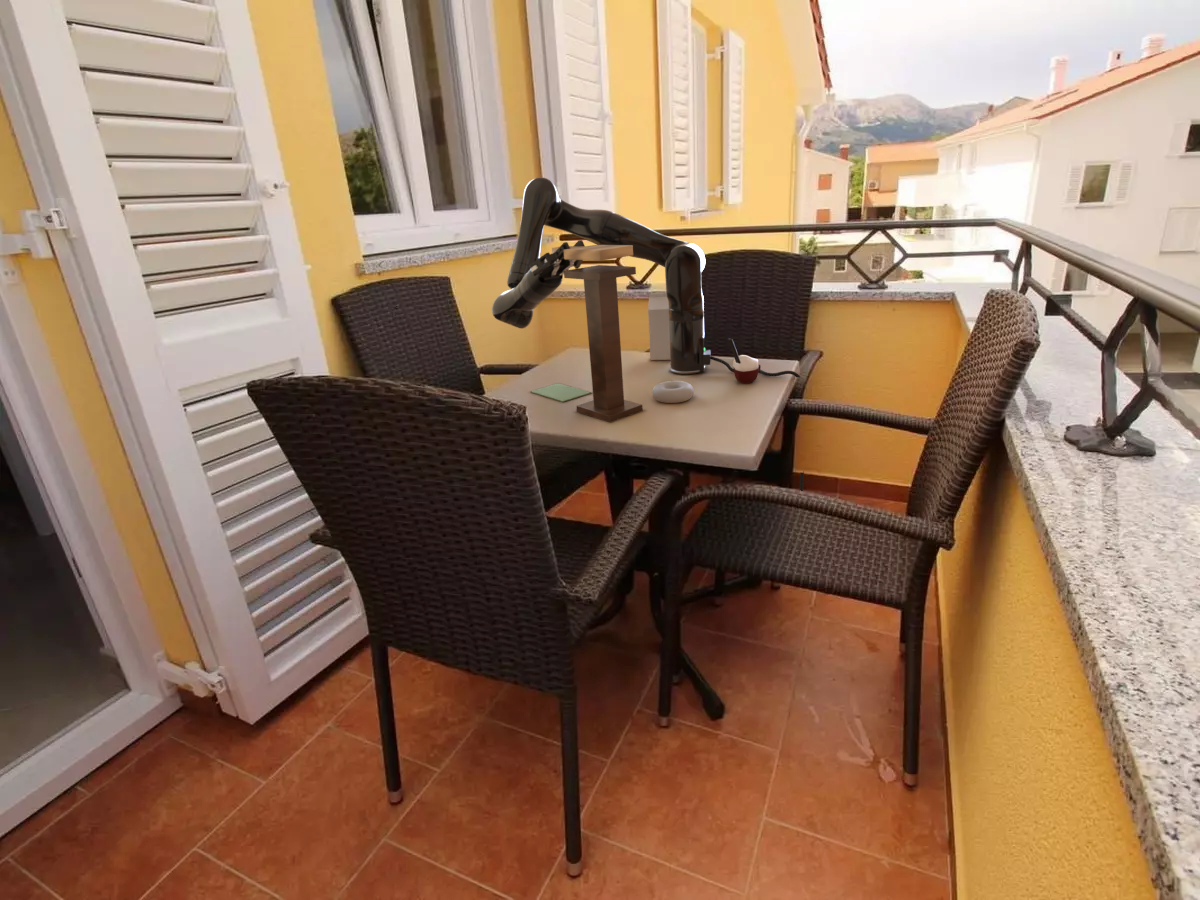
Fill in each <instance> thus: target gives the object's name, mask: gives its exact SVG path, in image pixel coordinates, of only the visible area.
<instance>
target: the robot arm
mask: <svg viewBox="0 0 1200 900" xmlns="http://www.w3.org/2000/svg"><path fill="white" fill-rule="evenodd" d="M544 227H549V228H553V229H556V230H560V231H563V232H567V233H569V234H572V235H574V236H576V237H578V238H581V239H580V240H577V242H575V243H574V245H573V246H586V244H585V243H584V241H583V240H585V241H588V242H590V243H592V244H593V245H633V255H632V256H630V257H631V258H636V259H642V260H646V261H650V262H652V263H655V264H657V265H659V266H661V267H663V268H664V275H665V293H666V294H667V299H668V303H669V333H670V360H669V361H670V362H669V365H670V367H669V369H670V370H669V371H670V372H672V373H673V374H678V375H693V374H695V375H696V374H700V373H705V369H706V366H711V362H712V361H714V362H718V363H721V364H722V365H724V366H726V367H727V369H728V370H729V371H730V372H732V373H734V367H732V366H731V364H730V363H729V362H727V361H726V360H724V359H721V358H718V357H715V356H713V355H711V353H712V350H711V349H706V346H705V313H704V312H705V310H704V308H705V307H704V306H705V305H704V303H705V301H704V300H705V299H704V295H703V289H702V272H703V270H704V269H705V266H706V257H705V254H704V251H703V250H702V249H701V247H699V246H698V245H697V244H695V243H693V242H692V243H691V242H687V241H684V240H680V239H677V238H673V237H670V236H667V235H664V234H662V233H659V232H657V231H655V230H653V229H651V228H649V227H647V226H645V225H643V224H641V223H639V222H638V221H634V220H633V219H631V218H628V217H626V216H624V215H622V214H619V213H616V212H614V211H612V210H608V209H599V208H598V209H587V208H580V207H578V206H575V205H573V204H571V203H569V202H567V201H564V200H563V199H561V198H560V195H559V193H558V189H557V187H556V185H555V184H554V183H553V181H552V180H551V179H549V178H546V177H543V176H540V177H536V178H533V179H532V180H530V181H529V182H528V183H527V184H526V186H525V188H524V191H523V198H522V209H521V219H520V224H519V229H518V236H517V241H516V245H515V250H514V253H513V258H512V260H511V263H510V268H509V271H508V274H507V278H506V285H507V287H508V288H509V289H508V290H505V291H503V292H502V293H500V294H499V295H498V296H496V298H495V299H494V301H493V303H492V306H491V313H492V315H493V317H494V318H495V319H496V320H497V321H498V322H499V321H500V322H502V323H504V324H506V325H510V326H512V327H514V328H517V329H520V330H521V329H526V328H527V327H528V326H529V325H530V324H531V322H532V321H533V317H534V310H535V309H537V307H538V306H539V305H540V304H541V303H542V302H543V301H545V300H546V299H547V298H549V297H550V296H551V295H552V294H553V293H554V292H555V291H556V290H557V289H558V288H559V287H560V286H561V284H562V282H563V277H564V271H566V270H570V269H571V268H574V269H578V268H581V266H582V264H583V261H584V260H569V259H564V249H570V247H569V246H570V245H569V243H568V242H567V241H565V242H563V243H562V244H561V245H560V246H558V247H559V248H558V249H557V250H554V251H553V252H552V251H551V253H550V252H546V253H544V254H543V255H541V249H542V248H541V247H542V238H543V233H544ZM711 360H712V361H711ZM758 374H761V375H762V376H763V375H764V376H767V377H781V376H784V375H791V376H794V377H795V378H801V375H800V374H799V373H798V372H795V371H793V370H783V371H778V372H767V371H765V370H763V369H760V371H759V373H758ZM804 477H805V471H802V472H800V474H799V491H800V490H801V491H803V492H804Z"/></svg>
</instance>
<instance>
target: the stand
mask: <svg viewBox="0 0 1200 900" xmlns="http://www.w3.org/2000/svg"><path fill="white" fill-rule="evenodd" d="M633 275H637V267H636V266H631V265H630V266H627V265H607V264H606V265H604V264H598V265H591V266H585V267H579V268H578V269H575V268H573V269H569V270H566V271H564V274H563V277H564V279H574V280H583V288H584V300H585V301H584V302H585V310H586V311H585V312H586V325H587V337H588V347H589V348H588V349H589V362H590V363H589V364H590V375H591V386H592V387H591V388H592V397H593V399H592V400H589V401H587V402H583V403H581V404H577V405H575V407H576V408H575V409H576V413H580V414H583V415H586V416H589V417H591V418H595V419H598V420H601V421H605V422H608V423H612V422H616V421H618V420H621V419H624V418H627V417H629V416H632V415H635V414H638V413H640V412H643V411H644V409H643V404H641V403H638V402H634V401H631V400H626V399H625V395H624V379H623V362H622V347H621V331H620V330H621V329H620V313H619V298H618V297H619V296H618V283H617V280H618V279H617V278H621V277H622V278H623V277H628V276H633Z"/></svg>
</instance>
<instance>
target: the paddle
mask: <svg viewBox="0 0 1200 900" xmlns="http://www.w3.org/2000/svg"><path fill="white" fill-rule="evenodd" d="M559 247H560V246H554V247H551V253H552V252H553V251H554V250H557V249H558V248H559ZM569 247H570V249H564V259H569V260H583V261H597V262H603V261H607V260H614V259H620V258H626V257H631V256H632V255H633V245H596V244H592V245H585V246H574V245H569Z"/></svg>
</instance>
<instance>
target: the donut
mask: <svg viewBox="0 0 1200 900" xmlns="http://www.w3.org/2000/svg"><path fill="white" fill-rule="evenodd" d="M694 392H695V389H694V386H692V385H691V383H689V382H686V381H682V380H668V381H661V382H659V383H657V384H656V385H654V386H653V388H652V391H651V394H652V397H653V399H654V400H655V401H656V402H657V401H658V402H660V403H664V404H678V403H683V402H686V401H688V400H690V399H691V398H692V397H693V396H694Z"/></svg>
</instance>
